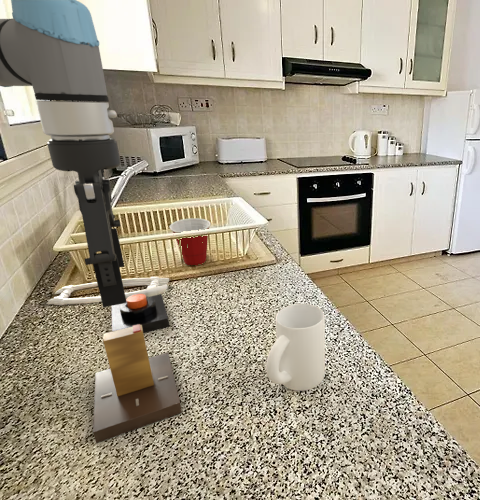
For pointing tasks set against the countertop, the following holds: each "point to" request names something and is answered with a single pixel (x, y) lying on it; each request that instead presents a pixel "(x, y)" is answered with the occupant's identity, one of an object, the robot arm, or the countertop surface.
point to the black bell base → (141, 315)
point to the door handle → (150, 291)
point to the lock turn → (128, 359)
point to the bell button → (136, 301)
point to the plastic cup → (192, 240)
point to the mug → (298, 348)
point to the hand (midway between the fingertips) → (114, 284)
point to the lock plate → (134, 401)
